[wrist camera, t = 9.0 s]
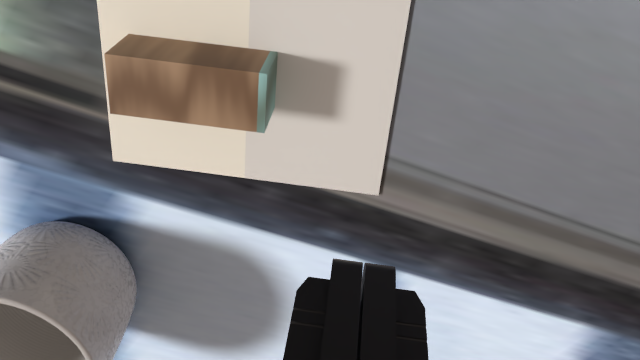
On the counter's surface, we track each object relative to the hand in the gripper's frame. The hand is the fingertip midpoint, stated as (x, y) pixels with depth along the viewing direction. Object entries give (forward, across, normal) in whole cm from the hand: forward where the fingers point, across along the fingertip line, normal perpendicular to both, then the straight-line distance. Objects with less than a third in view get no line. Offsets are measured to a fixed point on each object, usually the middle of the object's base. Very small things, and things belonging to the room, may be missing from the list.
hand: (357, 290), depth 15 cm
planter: (+27, +22, +25) cm, 43 cm away
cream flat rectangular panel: (+27, +8, +6) cm, 29 cm away
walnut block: (+25, +6, +6) cm, 26 cm away
